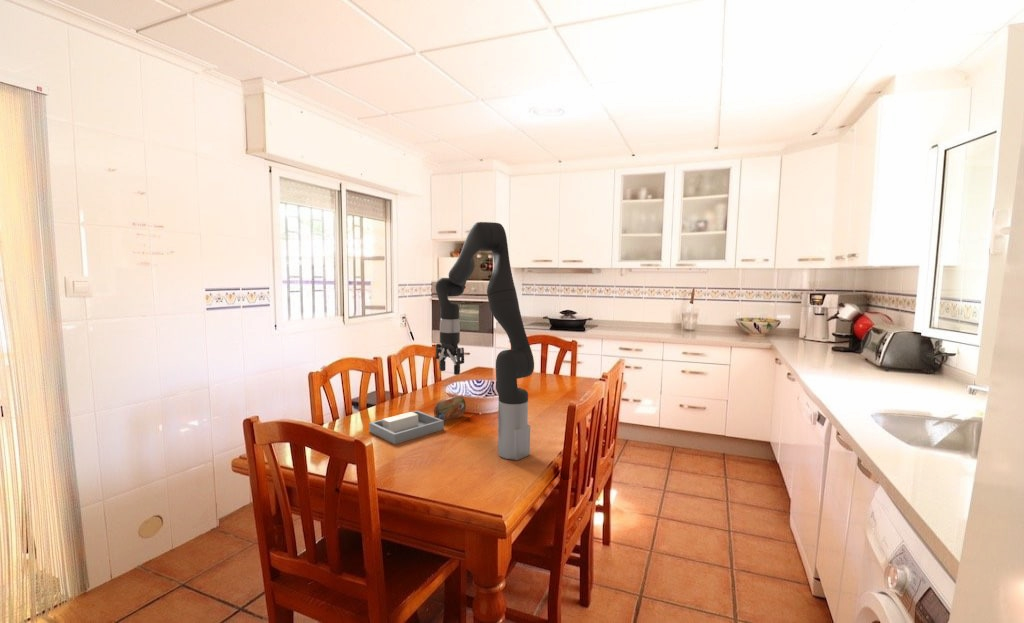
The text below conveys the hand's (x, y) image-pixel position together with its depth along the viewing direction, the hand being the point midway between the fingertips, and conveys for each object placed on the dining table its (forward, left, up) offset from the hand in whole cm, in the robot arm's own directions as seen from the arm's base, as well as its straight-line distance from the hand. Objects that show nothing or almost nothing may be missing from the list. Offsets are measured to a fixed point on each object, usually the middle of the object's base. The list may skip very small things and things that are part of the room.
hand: (449, 372), depth 174 cm
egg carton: (+3, +20, -17) cm, 27 cm away
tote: (-1, +20, -18) cm, 27 cm away
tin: (0, 0, -19) cm, 19 cm away
